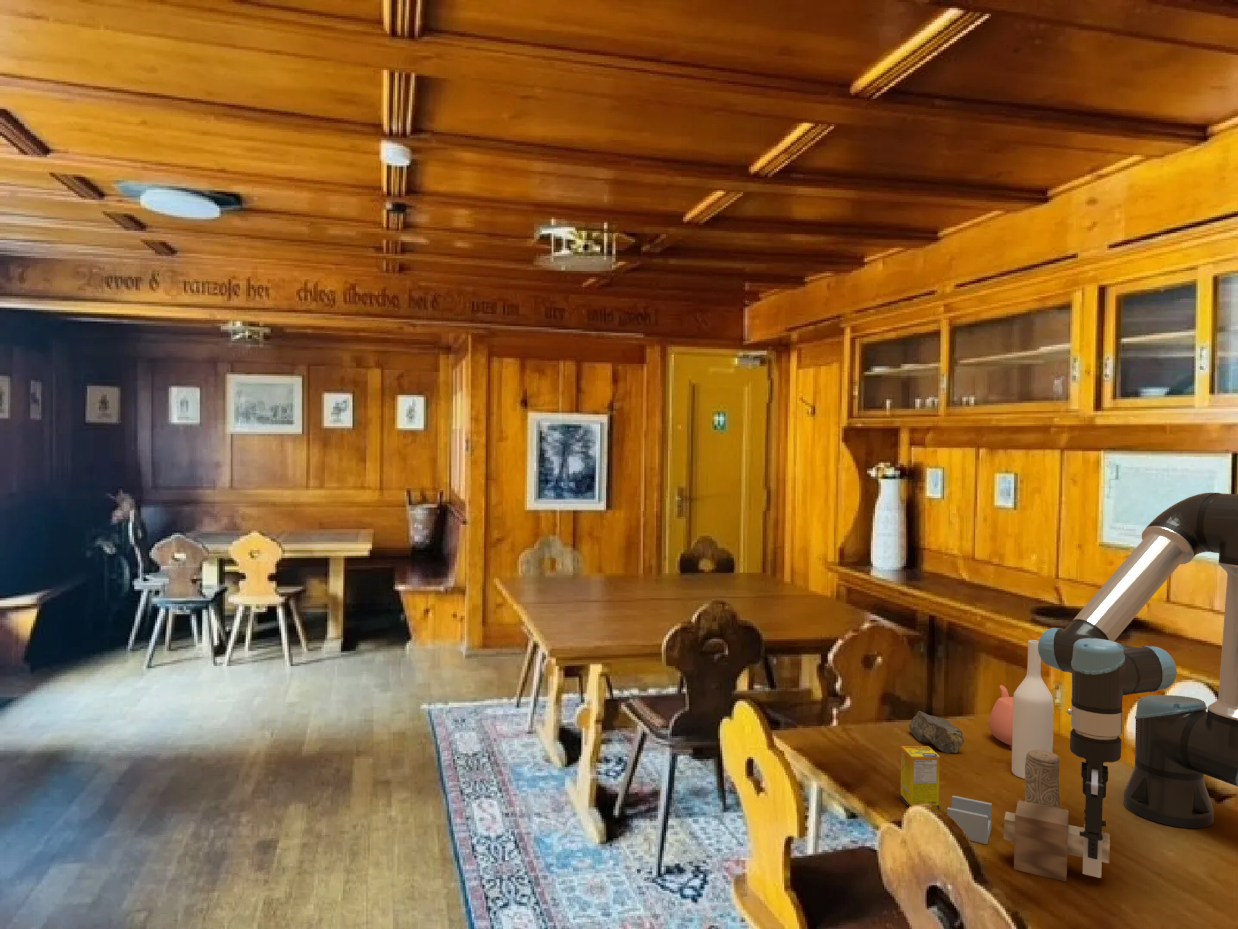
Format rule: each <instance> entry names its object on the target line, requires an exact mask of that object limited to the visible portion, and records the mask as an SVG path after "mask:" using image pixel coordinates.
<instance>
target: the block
mask: <svg viewBox="0 0 1238 929" xmlns="http://www.w3.org/2000/svg"><path fill="white" fill-rule="evenodd" d="M1069 812H1070V810H1068V809H1064V808H1060V807H1059V808H1055V807H1050V806H1045V805H1040V804H1035V803H1030V802H1025V800H1024V801H1023V800H1019V799H1018V800H1017V804H1016V809H1015V812H1014V813H1015V842H1014V846H1013V847H1014V848H1013V849H1014V850H1013V851H1014V853H1013V870H1016V871H1020V872H1023V873H1028V874H1031V875H1036V876H1041V877H1045V878H1049V879H1052V880H1053V879H1054V880H1058V881H1061V882H1067V878H1068V877H1067V875H1068V855H1069V854H1067V839H1068V825H1069V820H1070V819H1069V815H1070V814H1069Z"/></svg>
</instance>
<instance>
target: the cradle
mask: <svg viewBox="0 0 1238 929" xmlns="http://www.w3.org/2000/svg"><path fill="white" fill-rule="evenodd" d="M992 805H993V803H992V802H986V801H982V800H976V799H971V798H967V797H961V796H956V795H952V796H951V807H949V806H948V807H947V809H946V811H947V812H946V816H947V815H948V816H950V817H951V818H952V819H953V820H954V821H955V822H957V825H958V826H959V827H960V828H961V829H962V830H963V832H964V834H966V835H967V836H968V837H969V840H968V841H970V840H971V842H975V843H978V844H979V843H980V844H984V845H988V844H989V840H990V835H991V831H992V810H993V808H992Z"/></svg>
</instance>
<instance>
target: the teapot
mask: <svg viewBox="0 0 1238 929" xmlns="http://www.w3.org/2000/svg"><path fill="white" fill-rule="evenodd" d="M999 689H1000V693H1001V694H1000V695H1001V696H1000V697H999V698H998V699H997V700H996V702H995V703H994V706H993V708H992V709H991V712H990V716H989V720H988V728H989V730H990V732H991V734H992V735H993V736H994V737H995V738H996V739H997V740H998V741H1000V742H1002V743H1004V744H1007V745H1009V749H1011V750H1012V733H1013V697H1014V696H1010V695H1009V692H1008V688H1006V686H1004V685H1003V684H1000V685H999ZM1054 731H1055V730H1053V739H1054V737H1055V734H1054Z"/></svg>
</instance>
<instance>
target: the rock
mask: <svg viewBox="0 0 1238 929" xmlns="http://www.w3.org/2000/svg"><path fill="white" fill-rule="evenodd" d="M908 726H909V728H908V729H909V731H910V733H911V734H912V735H913V736H914V737H915V739H916V740H917V741H918V742H921V743H924V744H927V745H928V744H929V745H933V746H934V747H936V748H937V750H939V751H940V752H942V753H945V754H950V753H954V754H958V753H959V752H960V748H961V747H962V746H963V745H964V744H965V737H964V734H963V731H962V730H961V729H960V728H959V727H957V726H956V725H955V726H954V725H953V724H952V723H951V722H949V721H948V720H947V719H946V718H943V717H939V716H936V715H930V714H927V713H925V712H923V711H921V710H919V711H917V712H916V714H915V716H913V718H912V719H911V720H910V723H909V724H908Z"/></svg>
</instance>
